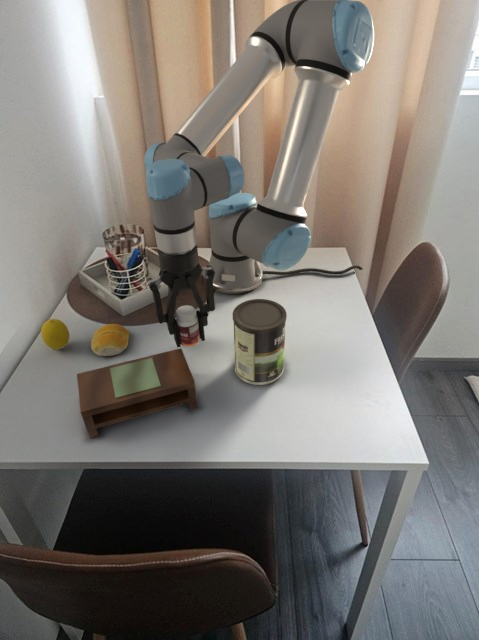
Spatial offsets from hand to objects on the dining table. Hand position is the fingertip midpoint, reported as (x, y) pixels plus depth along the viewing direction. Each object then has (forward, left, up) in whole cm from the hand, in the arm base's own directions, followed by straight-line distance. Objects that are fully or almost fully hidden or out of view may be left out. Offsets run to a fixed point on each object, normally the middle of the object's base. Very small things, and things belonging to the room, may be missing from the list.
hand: (189, 340), depth 98 cm
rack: (+13, +13, -2) cm, 19 cm away
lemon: (+27, -10, -2) cm, 29 cm away
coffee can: (-12, +12, -2) cm, 17 cm away
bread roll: (+16, -7, -2) cm, 18 cm away
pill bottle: (0, 0, -1) cm, 1 cm away
